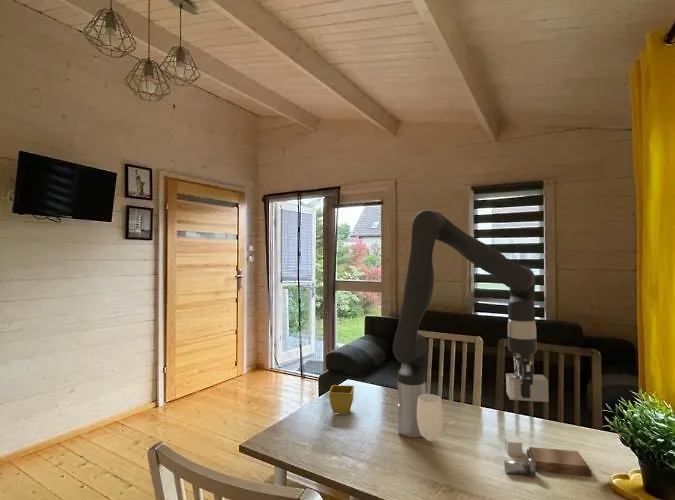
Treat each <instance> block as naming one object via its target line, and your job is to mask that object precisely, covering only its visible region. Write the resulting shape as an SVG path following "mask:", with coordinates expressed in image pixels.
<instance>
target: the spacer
mask: <svg viewBox="0 0 675 500" xmlns="http://www.w3.org/2000/svg"><path fill="white" fill-rule="evenodd" d="M503 437H504V439H503V440H504V450H505V452H506V454H507V456H514V457H515V456H516V457H517V456H518V457H519V456H520V457H523V442H522V441H521V439H520V437H519V436H516V435H515V436H514V435H513V436H512V435H504V436H503Z"/></svg>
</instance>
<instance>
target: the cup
mask: <svg viewBox="0 0 675 500" xmlns="http://www.w3.org/2000/svg"><path fill="white" fill-rule="evenodd" d="M417 422H418V428H419V431H420V434H421V435H422V436H421V437H423V438H424V439H425V441H429V442H434V441H436V440H437V439H438V438H440V436H441V435H442V431H443V426H444V409H443V403H442V397H440V396H438V395H436V394H432V393H426V394H423V395H420V396H419V397H418V403H417Z"/></svg>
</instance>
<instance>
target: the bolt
mask: <svg viewBox="0 0 675 500" xmlns="http://www.w3.org/2000/svg"><path fill="white" fill-rule="evenodd" d="M503 466H504V471H505V473H506V474H513V475H526V476H531V477H535V476H536V473H537V471H536V469H535V463H534V460H533V458H528V457H527V458H526V462H524V461H515V460H513V461H512V460H506V459H505V460H504V462H503Z"/></svg>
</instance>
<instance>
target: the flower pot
mask: <svg viewBox="0 0 675 500" xmlns="http://www.w3.org/2000/svg"><path fill="white" fill-rule="evenodd" d="M354 391H355V386H354V385H345V384H344V385H340V384H339V385H335V384H333V385H331V386H330V389H329V391H328V395H329V396H328V397H329V403H330V408H331V410H332V412H333V413H337V414H336V415H339V414H348V415H349V413H350V412H351V409H352V405H353V400H354ZM338 413H339V414H338Z"/></svg>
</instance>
